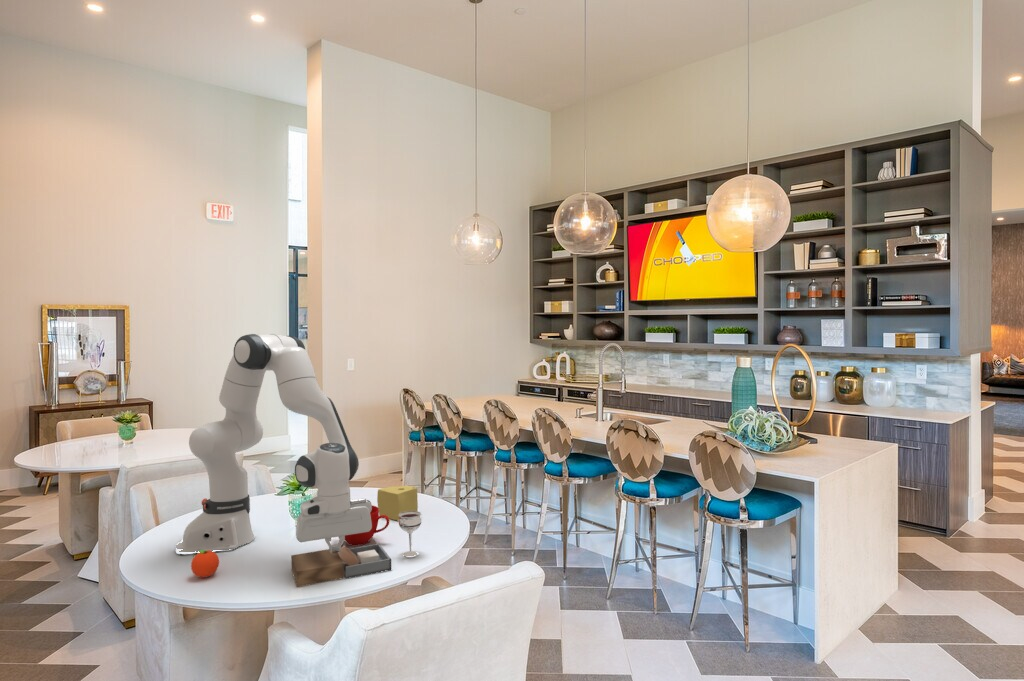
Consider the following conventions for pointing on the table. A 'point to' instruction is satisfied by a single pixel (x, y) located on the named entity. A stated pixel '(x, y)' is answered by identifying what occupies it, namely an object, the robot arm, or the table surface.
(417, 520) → the wineglass
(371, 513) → the ceramic cup
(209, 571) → the clementine
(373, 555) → the tile
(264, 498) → the table surface
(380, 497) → the cheese
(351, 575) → the tray
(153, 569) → the table surface
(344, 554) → the tile
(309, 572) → the walnut block
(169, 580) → the table surface
